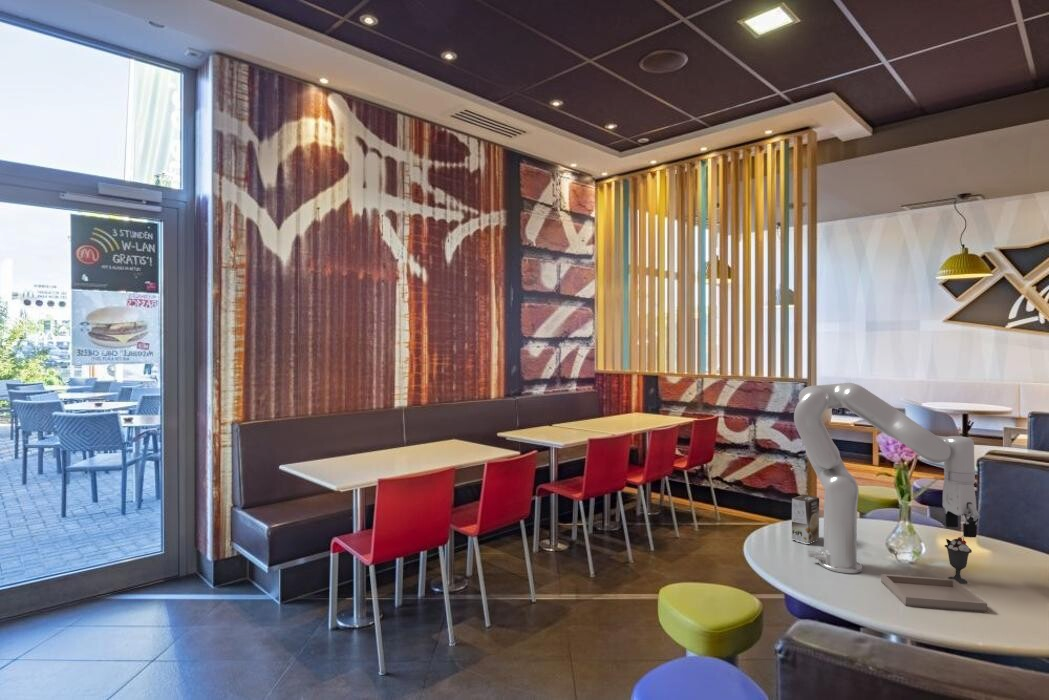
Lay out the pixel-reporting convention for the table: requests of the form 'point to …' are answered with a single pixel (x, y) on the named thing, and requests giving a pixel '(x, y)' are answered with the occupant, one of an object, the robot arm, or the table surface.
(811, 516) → the coffee box
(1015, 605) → the table surface
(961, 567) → the sundae
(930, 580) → the tray
